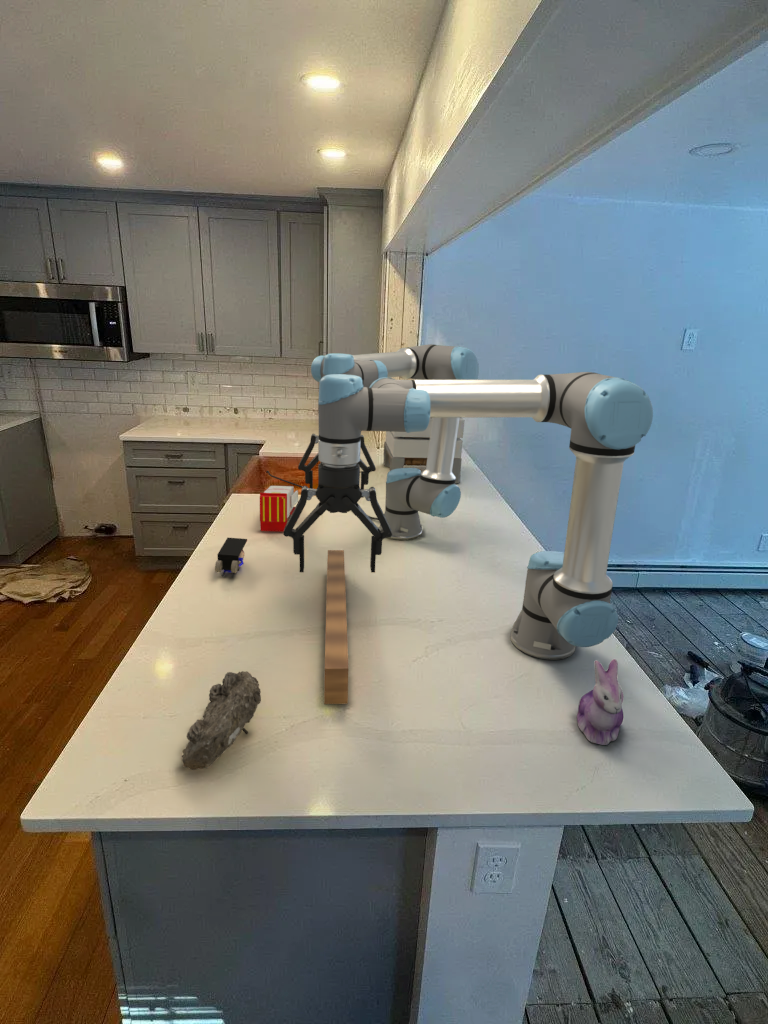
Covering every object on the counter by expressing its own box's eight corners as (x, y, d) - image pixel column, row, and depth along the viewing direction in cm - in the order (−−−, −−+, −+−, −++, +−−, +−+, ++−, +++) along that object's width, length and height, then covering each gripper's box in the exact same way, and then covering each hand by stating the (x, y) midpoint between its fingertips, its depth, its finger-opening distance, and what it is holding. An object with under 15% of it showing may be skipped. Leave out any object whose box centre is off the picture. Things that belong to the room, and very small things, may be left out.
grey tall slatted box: (382, 463, 289) (386, 382, 275) (445, 464, 293) (451, 384, 279) (390, 482, 257) (394, 392, 243) (460, 483, 261) (468, 394, 247)
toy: (300, 481, 221) (289, 494, 192) (300, 514, 224) (289, 533, 194) (268, 480, 221) (253, 493, 191) (269, 514, 223) (254, 532, 194)
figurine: (602, 755, 103) (617, 685, 98) (562, 719, 111) (574, 654, 106) (638, 739, 107) (654, 672, 102) (596, 706, 116) (609, 643, 110)
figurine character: (238, 584, 162) (249, 557, 175) (236, 562, 158) (247, 536, 172) (215, 584, 161) (227, 556, 175) (212, 561, 158) (225, 535, 171)
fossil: (206, 672, 114) (260, 639, 109) (238, 703, 117) (292, 672, 112) (156, 763, 94) (219, 728, 89) (197, 797, 97) (260, 766, 92)
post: (327, 576, 166) (327, 550, 163) (343, 576, 167) (343, 550, 164) (324, 704, 113) (324, 668, 110) (347, 703, 113) (348, 668, 110)
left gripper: (287, 418, 140) (288, 499, 147) (387, 420, 142) (384, 500, 149) (289, 412, 147) (290, 490, 154) (385, 415, 149) (381, 491, 157)
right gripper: (266, 466, 98) (269, 577, 105) (410, 469, 100) (403, 578, 107) (271, 456, 105) (274, 560, 112) (405, 459, 107) (399, 561, 114)
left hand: (336, 495), depth 152 cm, fingers open, 13 cm apart
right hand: (337, 569), depth 109 cm, fingers open, 13 cm apart
